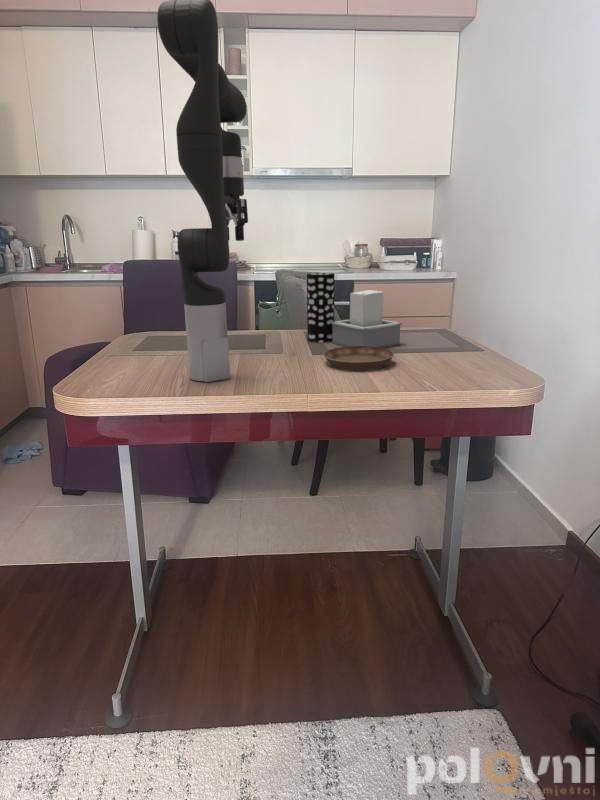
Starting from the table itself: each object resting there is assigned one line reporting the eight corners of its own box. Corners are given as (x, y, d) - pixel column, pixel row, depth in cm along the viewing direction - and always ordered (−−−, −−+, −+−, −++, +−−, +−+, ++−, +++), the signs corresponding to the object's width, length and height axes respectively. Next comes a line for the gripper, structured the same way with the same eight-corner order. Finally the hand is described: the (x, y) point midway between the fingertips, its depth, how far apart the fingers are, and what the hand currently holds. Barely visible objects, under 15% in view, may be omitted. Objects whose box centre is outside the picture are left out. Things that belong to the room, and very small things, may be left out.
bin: (401, 345, 157) (401, 322, 155) (362, 351, 149) (363, 328, 147) (368, 337, 168) (368, 316, 166) (331, 343, 161) (331, 321, 159)
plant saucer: (345, 376, 125) (345, 364, 124) (311, 361, 140) (311, 349, 139) (407, 368, 132) (408, 355, 131) (369, 354, 147) (369, 343, 146)
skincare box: (368, 339, 163) (369, 289, 158) (383, 342, 158) (384, 291, 154) (348, 342, 158) (349, 291, 153) (362, 345, 153) (363, 293, 149)
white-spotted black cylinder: (334, 342, 162) (335, 274, 156) (307, 342, 162) (306, 275, 156) (333, 337, 170) (333, 272, 164) (307, 337, 170) (306, 273, 164)
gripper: (254, 174, 138) (257, 240, 143) (229, 179, 149) (232, 240, 154) (228, 173, 134) (232, 241, 139) (204, 178, 145) (208, 241, 150)
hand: (232, 240), depth 146 cm, fingers open, 8 cm apart
